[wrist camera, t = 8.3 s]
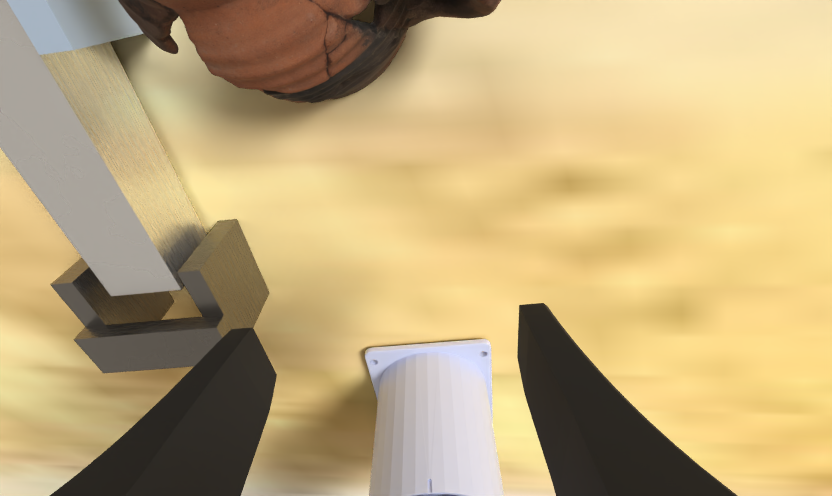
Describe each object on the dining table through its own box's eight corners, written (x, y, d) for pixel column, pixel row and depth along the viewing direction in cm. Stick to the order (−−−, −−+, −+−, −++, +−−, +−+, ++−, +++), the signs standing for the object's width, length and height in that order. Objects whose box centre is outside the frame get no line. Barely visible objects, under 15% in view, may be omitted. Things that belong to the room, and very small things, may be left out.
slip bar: (213, 247, 21) (181, 289, 18) (151, 253, 21) (110, 296, 18) (70, -38, 14) (-18, -40, 11) (-19, -24, 14) (-126, -22, 11)
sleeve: (269, 293, 23) (237, 362, 19) (158, 302, 24) (103, 373, 19) (236, 219, 20) (190, 282, 16) (111, 232, 21) (35, 297, 17)
